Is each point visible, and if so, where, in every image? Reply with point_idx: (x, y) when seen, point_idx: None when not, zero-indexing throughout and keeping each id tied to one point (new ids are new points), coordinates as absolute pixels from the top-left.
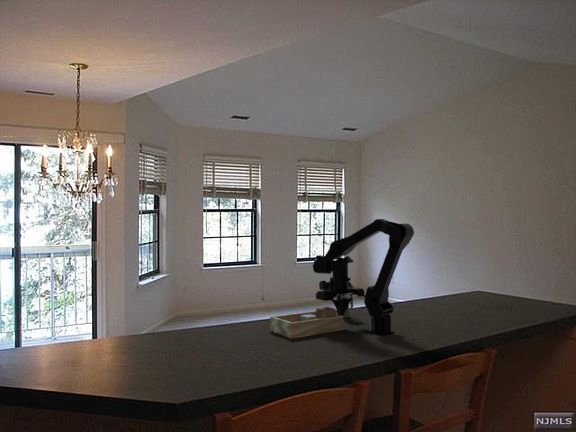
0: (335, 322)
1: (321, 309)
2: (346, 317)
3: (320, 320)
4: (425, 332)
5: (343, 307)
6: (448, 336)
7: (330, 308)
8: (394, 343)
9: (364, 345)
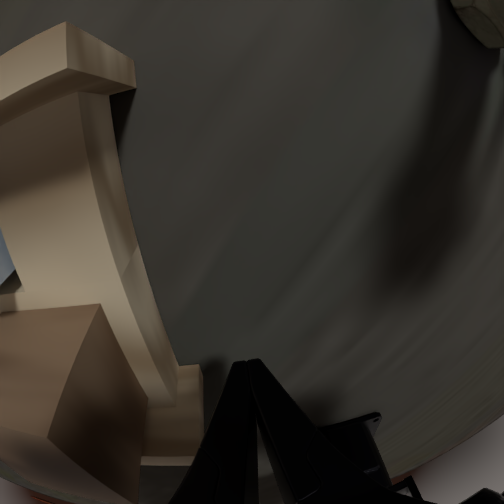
0: None
1: (2, 460)
2: (478, 35)
3: None
4: (425, 436)
5: (279, 485)
6: (413, 458)
7: (85, 488)
8: (258, 496)
9: (170, 493)
